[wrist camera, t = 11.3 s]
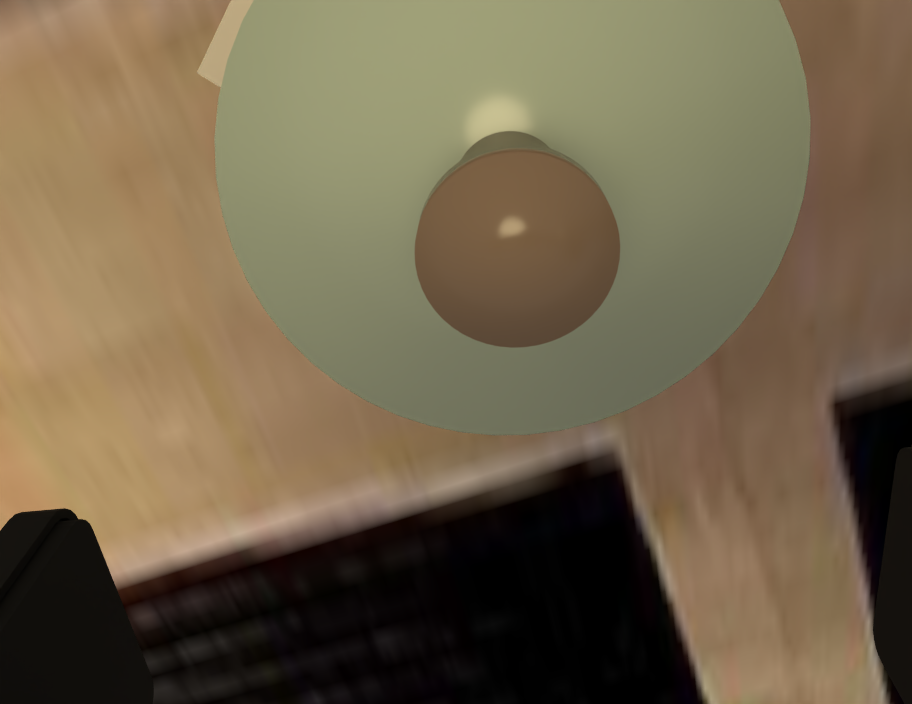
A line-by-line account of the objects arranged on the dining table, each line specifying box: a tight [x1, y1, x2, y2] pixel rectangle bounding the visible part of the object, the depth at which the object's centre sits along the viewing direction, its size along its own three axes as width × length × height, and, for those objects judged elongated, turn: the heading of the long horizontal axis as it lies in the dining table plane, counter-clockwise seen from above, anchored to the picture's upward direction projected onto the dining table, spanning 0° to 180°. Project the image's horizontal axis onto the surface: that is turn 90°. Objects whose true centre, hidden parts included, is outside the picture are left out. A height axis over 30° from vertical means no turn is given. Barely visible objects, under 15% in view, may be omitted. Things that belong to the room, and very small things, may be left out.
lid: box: [215, 0, 810, 435], centre depth 21 cm, size 16×16×6 cm
